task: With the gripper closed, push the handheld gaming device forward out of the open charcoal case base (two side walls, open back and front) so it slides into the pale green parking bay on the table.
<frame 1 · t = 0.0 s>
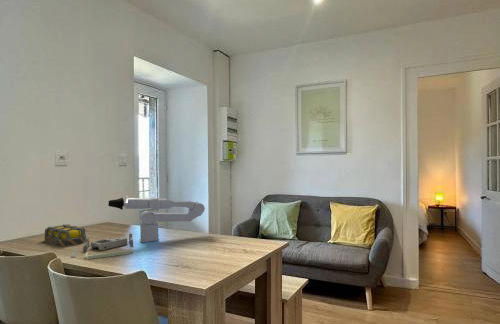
hand: (108, 203, 167), 22 cm above the table, tool horizontal, fingers open, 7 cm apart
bay: (109, 253, 149), on the table
cage light: (65, 241, 179), on the table
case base: (109, 246, 163), on the table
stay bar: (74, 255, 150), on the table
handheld gaming device: (109, 247, 163), on the table
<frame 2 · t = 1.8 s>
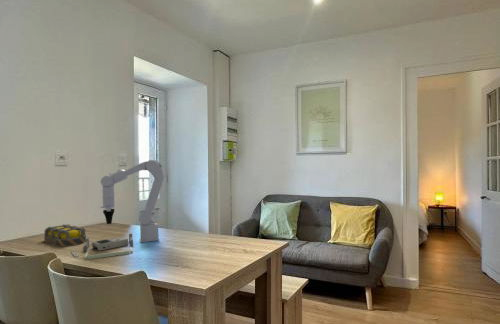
hand: (109, 223, 172), 10 cm above the table, tool pointing down, fingers open, 5 cm apart
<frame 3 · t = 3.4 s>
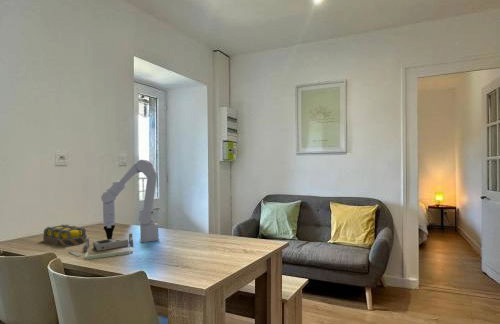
hand: (109, 239, 172), 2 cm above the table, tool pointing down, fingers closed
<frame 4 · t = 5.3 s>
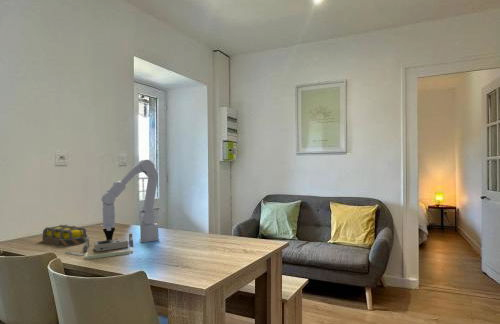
hand: (109, 242, 165), 2 cm above the table, tool pointing down, fingers closed
handheld gaming device: (111, 248, 160), on the table, touching gripper
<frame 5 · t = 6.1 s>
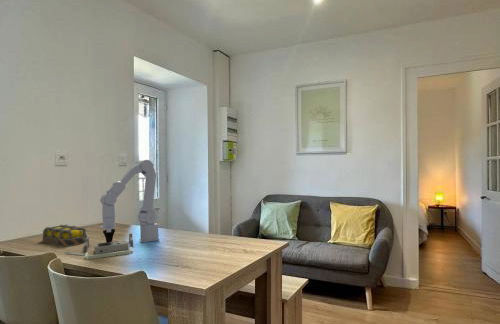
hand: (109, 244, 160), 2 cm above the table, tool pointing down, fingers closed
handheld gaming device: (111, 251, 156), on the table, touching gripper
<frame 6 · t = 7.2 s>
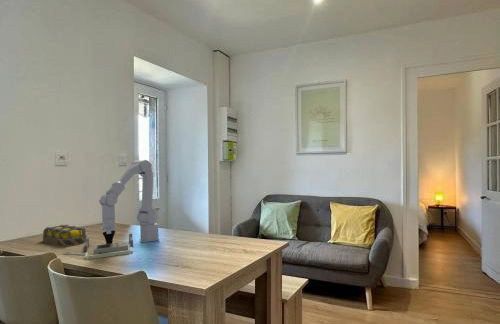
hand: (109, 246, 156), 2 cm above the table, tool pointing down, fingers closed
handheld gaming device: (111, 253, 151), on the table
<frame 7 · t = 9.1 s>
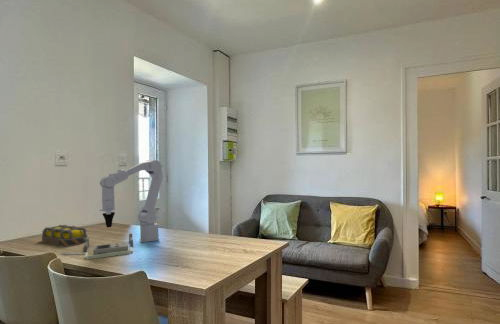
hand: (109, 227, 160), 10 cm above the table, tool pointing down, fingers closed
handheld gaming device: (111, 254, 150), on the table
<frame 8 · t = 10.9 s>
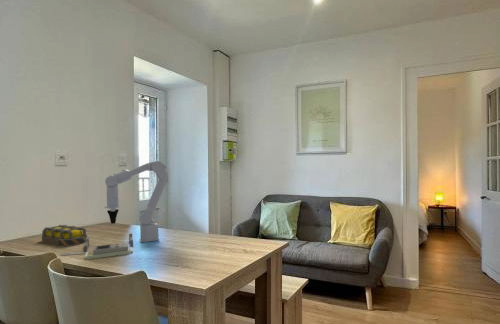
hand: (113, 223, 171), 10 cm above the table, tool pointing down, fingers closed
at the end: handheld gaming device inside the target area (1.0 cm from its centre), on the table; handheld gaming device on the table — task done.
